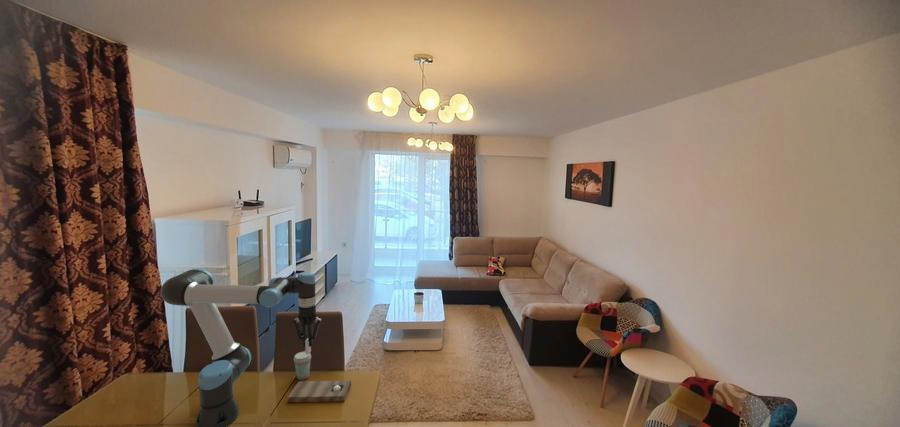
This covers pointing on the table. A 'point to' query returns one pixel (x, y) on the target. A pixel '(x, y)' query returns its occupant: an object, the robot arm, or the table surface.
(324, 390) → the deck
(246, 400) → the table surface
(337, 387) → the ball
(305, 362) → the coffee cup
